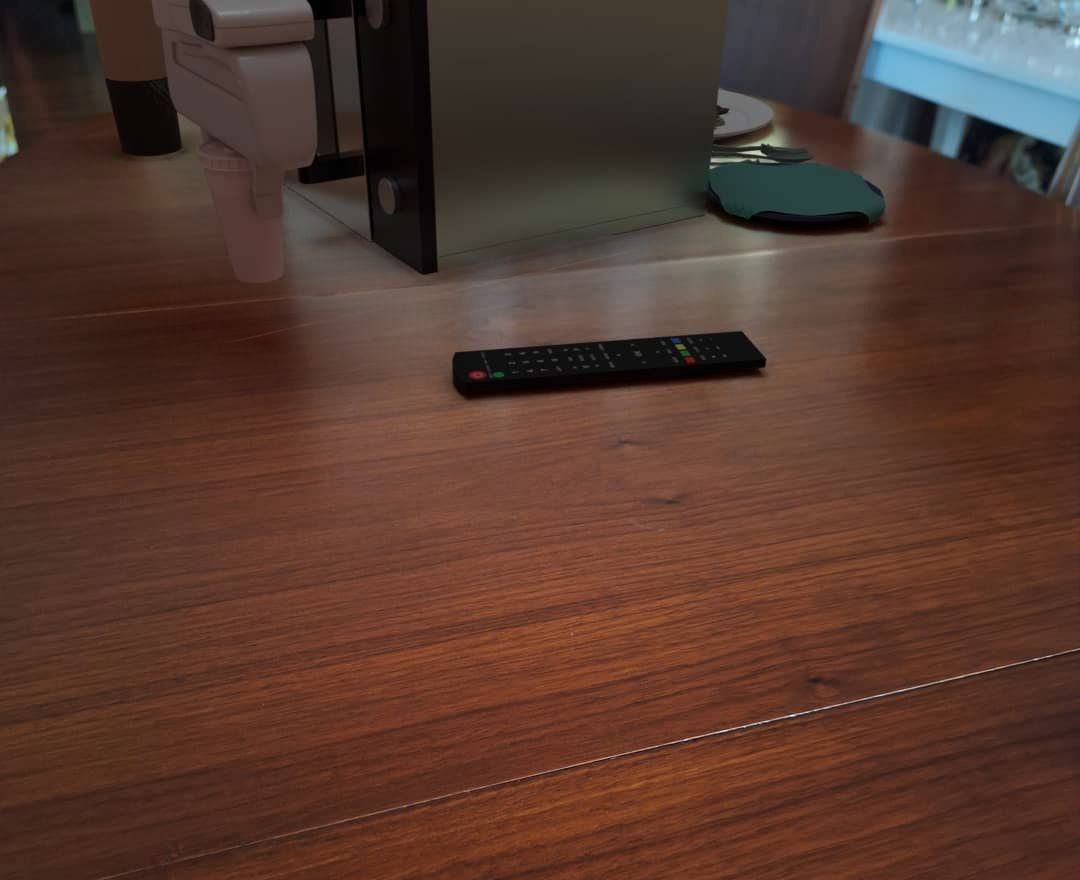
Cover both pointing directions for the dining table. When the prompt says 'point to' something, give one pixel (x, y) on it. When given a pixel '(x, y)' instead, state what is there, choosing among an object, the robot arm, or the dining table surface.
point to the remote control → (603, 361)
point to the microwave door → (337, 121)
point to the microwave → (534, 121)
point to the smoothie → (242, 215)
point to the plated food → (739, 115)
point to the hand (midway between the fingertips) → (249, 201)
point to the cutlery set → (789, 187)
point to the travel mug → (136, 76)
